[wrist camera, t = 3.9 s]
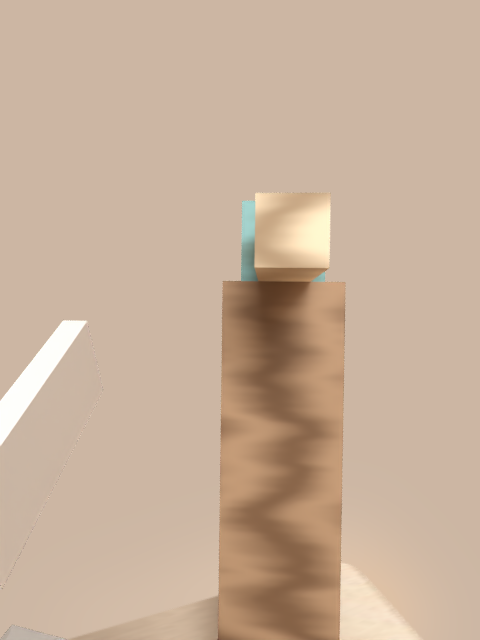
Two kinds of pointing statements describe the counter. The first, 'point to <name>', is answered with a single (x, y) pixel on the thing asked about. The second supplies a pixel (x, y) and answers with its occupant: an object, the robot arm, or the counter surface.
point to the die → (27, 634)
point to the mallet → (286, 237)
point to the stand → (281, 460)
